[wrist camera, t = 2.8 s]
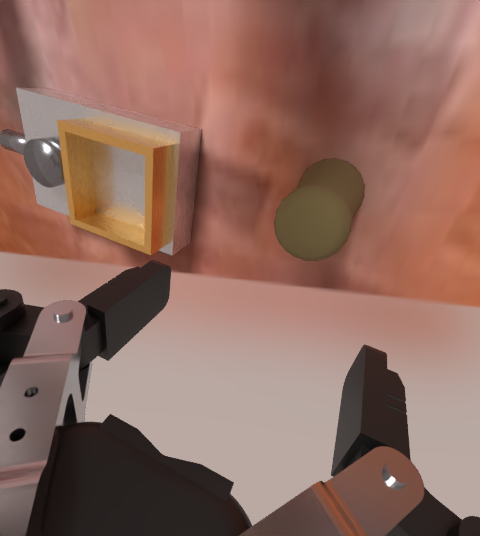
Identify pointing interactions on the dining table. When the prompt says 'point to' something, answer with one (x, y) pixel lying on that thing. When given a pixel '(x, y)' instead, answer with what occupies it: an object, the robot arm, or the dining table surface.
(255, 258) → the dining table surface
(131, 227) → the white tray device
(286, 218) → the cork
